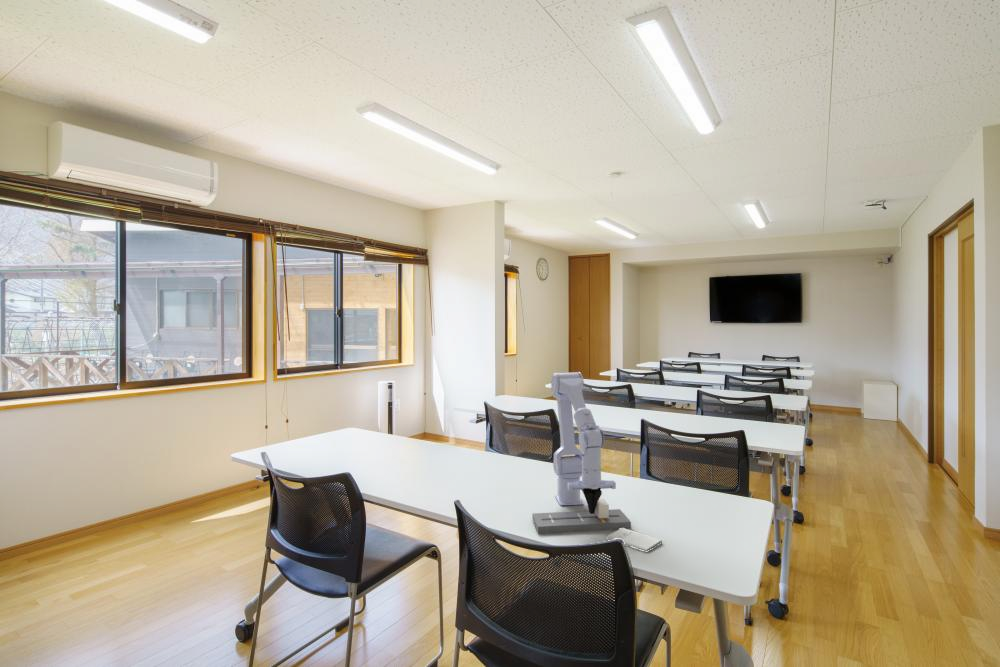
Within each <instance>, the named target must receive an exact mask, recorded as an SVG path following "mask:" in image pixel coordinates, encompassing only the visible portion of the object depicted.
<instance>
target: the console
mask: <svg viewBox="0 0 1000 667" xmlns="http://www.w3.org/2000/svg"><path fill="white" fill-rule="evenodd" d="M532 519H533V520H532ZM532 519H531V520H532V522H533V521H534V522H533V525H534V524H535V525H534V527H535V529H537V530H536V532H538V533H537V534H549V533H548V532H556V533H569V532H568V531H574V532H590V531H591V530H592V531H607V530H606V529H612V530H619V528H631V527H632V522H631V520H630V519H629V518H628V517H627V516H626V515H625V512H623V511H622V510H621V509H620V508H617V509H609V518H598V516H597V515H596V514H595V513H594V514H590V512H589V510H580V511H579V510H578V511H577V510H576V511H575V510H574V511H573V510H572V511H562V512H561V511H560V512H559V511H556V512H538V513H537V512H535V513H532ZM631 529H632V528H631ZM546 532H547V533H546Z"/></svg>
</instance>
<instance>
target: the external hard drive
mask: <svg viewBox="0 0 1000 667" xmlns="http://www.w3.org/2000/svg"><path fill="white" fill-rule="evenodd" d="M614 538H621V539H623V540H624V542H625V545H624V546H625V547H626V546H627V545H628V546H633V547H636V548H638V549H641V550H644V551H648V550H650V549H652V548H654V547H655V546H657V545H658V544H660V543H662V544H663V540H662V539H658V538H656V537H653V536H651V535H646V534H645V533H640V532H637V531H634V530H631V529H626V528H621V529H616V530H615V531H614V532H612V533H610V534H608V535H607V540H610V539H614ZM610 541H611V540H610ZM660 545H661V544H660ZM628 546H627V547H628ZM657 547H658V546H657ZM654 549H655V548H654ZM652 550H653V549H652Z"/></svg>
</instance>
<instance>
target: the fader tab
mask: <svg viewBox="0 0 1000 667" xmlns="http://www.w3.org/2000/svg"><path fill="white" fill-rule="evenodd" d="M609 507H610V506H609V503H608V502H607V501H606V500H605V498H599V500H598V502H597V505H596V509H595V514H596V515H597V516H598V518H609V510H610V509H609Z"/></svg>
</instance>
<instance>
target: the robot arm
mask: <svg viewBox="0 0 1000 667" xmlns="http://www.w3.org/2000/svg"><path fill="white" fill-rule="evenodd" d="M550 384H551V386H550V387H551V394H552V398H554V399H556V403H557V413H558V414H557V415H558V425H559V435H560V436H559V437H560V447H559V448H557V450H556V451H555V452H553V461H552V462H553V463H552V465H553V470H554V473H555V475H556V476H557V494H555V495H554V497H555V498H556V501H557V502H558V504H559V506H579V505H582V506H583V505H584V504H585V503H584V502H583V500H582V499H581V491H582V493H583V495H584V497H585V501H586V504H587V508H588V511H589V512H590V514H594V513H595V509H596V505H597V502H598V500H599V499H601V496H602V494H603V491H602V489H603V490H604V489H612V490H615V489H616V487H617V486H616V485H617V483H616V482H615V481H614V480H603V479H602V448H603V447H604V445H605V434H604V431H603V429H602V428H600V426H599V425H597V424H596V420H595V419H594V416H593V414H592V411H591V409H589V408H587V407H586V402H585V399H584V396H583V395H584V394H583V392H582V391H583V387H584V377H583V374H582V373H581V372H580V371H577V372H574V371H573V372H554V373H553V374H552V375H551V379H550ZM573 409H574V414H573ZM574 422H575V425H576V427H577V430H578V444H579V447H577V446H576V438H575V437H576V436H575V429H574V426H575V425H574Z"/></svg>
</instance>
